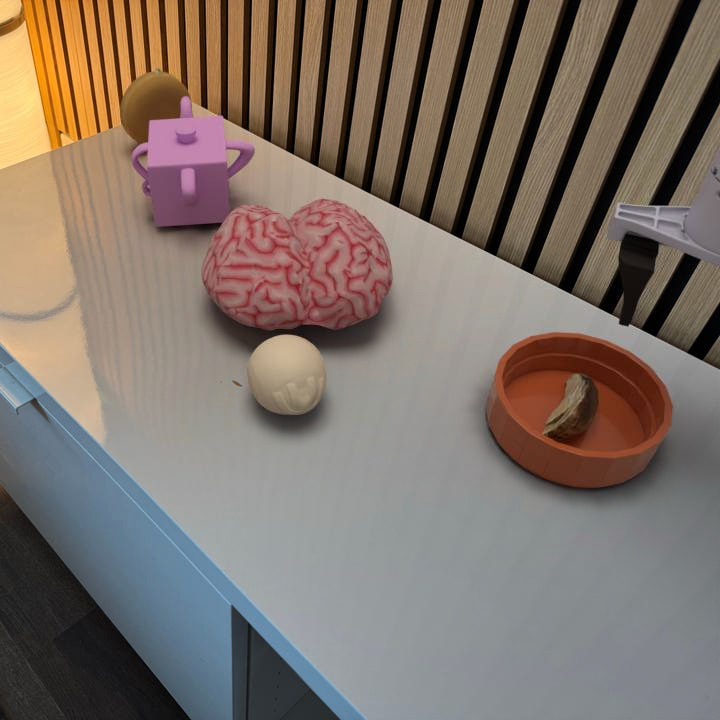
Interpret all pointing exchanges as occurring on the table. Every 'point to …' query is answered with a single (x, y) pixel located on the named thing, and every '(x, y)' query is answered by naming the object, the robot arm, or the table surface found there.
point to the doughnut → (151, 102)
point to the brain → (298, 267)
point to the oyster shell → (573, 409)
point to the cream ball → (287, 375)
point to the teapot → (189, 168)
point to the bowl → (612, 419)
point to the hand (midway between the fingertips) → (678, 330)
